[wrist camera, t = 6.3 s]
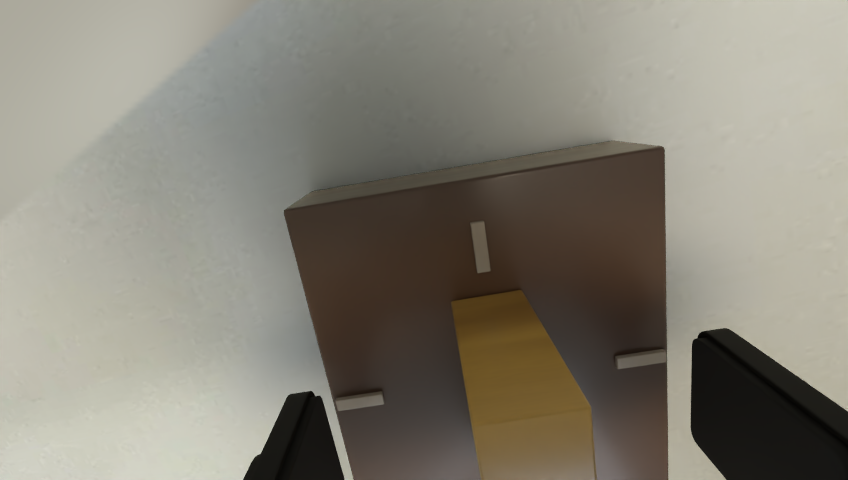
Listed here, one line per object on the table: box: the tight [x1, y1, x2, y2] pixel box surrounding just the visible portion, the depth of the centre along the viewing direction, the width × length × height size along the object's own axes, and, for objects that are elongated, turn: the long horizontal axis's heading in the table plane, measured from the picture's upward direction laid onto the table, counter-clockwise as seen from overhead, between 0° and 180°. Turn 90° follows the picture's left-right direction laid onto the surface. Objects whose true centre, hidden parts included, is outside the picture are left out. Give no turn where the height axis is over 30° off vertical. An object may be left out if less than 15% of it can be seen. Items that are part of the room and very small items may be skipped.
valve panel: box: [284, 141, 668, 480], centre depth 14 cm, size 12×10×3 cm
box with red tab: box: [451, 290, 597, 480], centre depth 10 cm, size 6×2×5 cm, turn 10°
